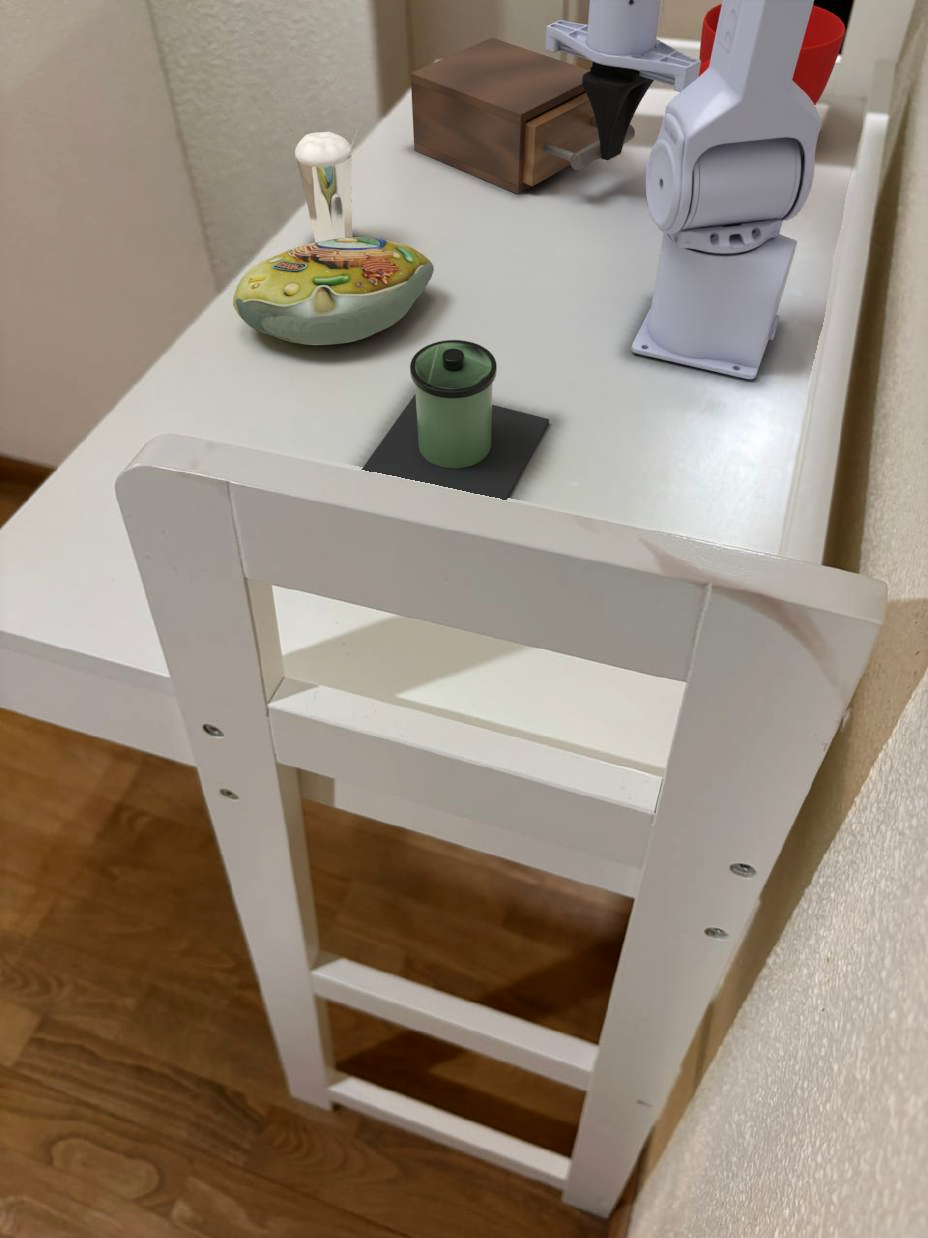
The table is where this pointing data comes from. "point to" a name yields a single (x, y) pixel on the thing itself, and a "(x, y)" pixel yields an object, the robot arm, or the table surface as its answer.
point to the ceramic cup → (814, 52)
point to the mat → (488, 477)
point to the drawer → (562, 139)
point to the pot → (454, 402)
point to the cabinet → (487, 107)
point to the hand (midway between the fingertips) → (609, 155)
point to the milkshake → (327, 183)
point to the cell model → (332, 290)
